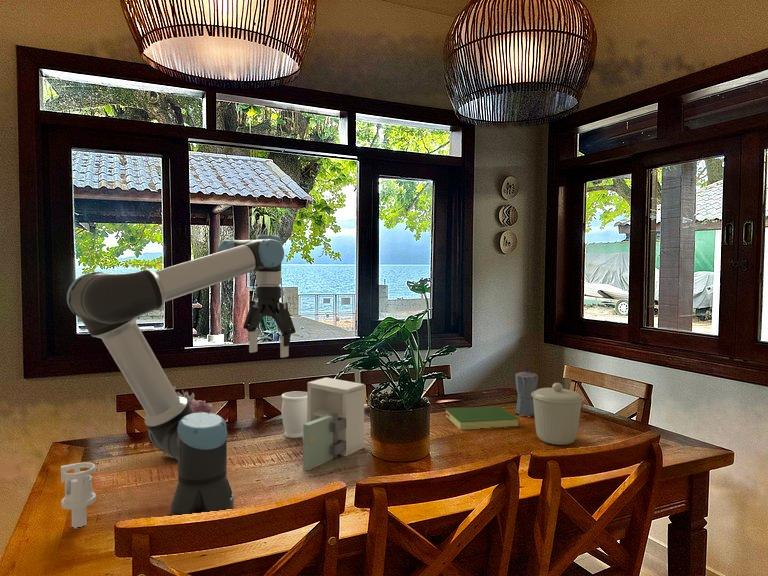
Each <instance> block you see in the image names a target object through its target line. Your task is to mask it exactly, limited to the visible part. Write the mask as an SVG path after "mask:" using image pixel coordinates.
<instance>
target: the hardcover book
mask: <svg viewBox="0 0 768 576" xmlns="http://www.w3.org/2000/svg"><path fill="white" fill-rule="evenodd" d="M444 416H445V417H446V419H448V420H449V421H450V422H452V424H454V425H455V426H456V427H457V429H459V430H460V431H461V430H462V431H463V430H465V431H466V430H480V428H485V429H492V428H491V427H503V426H504V428H506V427H505V426H518V427H519V417H517V416H515V415H514V414H512V413H511V412H509V411H508V410H506V409H504V408H503V407H502V406H500V405H486V406H485V405H484V406H465V407H464V406H463V407H446V408H444Z"/></svg>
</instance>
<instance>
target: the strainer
mask: <svg viewBox="0 0 768 576" xmlns="http://www.w3.org/2000/svg"><path fill="white" fill-rule="evenodd" d="M83 468H87V470H82V471H81V469H83ZM88 468H89V469H88ZM70 470H74V472H71V473H70V472H69V471H70ZM95 472H96V464H95V463H94V462H87V461H86V462H78V463H70V464H64V465H61V466H60V482H61V483H64V497H62V499H61V501H60V502H61V508H62V509H64V510H71V528H72V527H74V528H73V529H78V528H77V527H81V528H83V527H82V526H84V525H85V526H87V521H88V520H87V507H88V506H91V505H92V504H94V503H95V502H96V501H97V493H95V492H93V476H92V474H94V473H95ZM85 526H84V527H85Z"/></svg>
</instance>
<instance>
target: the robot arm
mask: <svg viewBox="0 0 768 576" xmlns="http://www.w3.org/2000/svg"><path fill="white" fill-rule="evenodd" d="M284 258H285V250H284V247H283V244H282V238H281V237H280V236H279V235H275V234H257V235H256V239H244V240H243V239H241V240H240V239H223V240H221V241H220V242H219V244H218V248H217V252H215V253H212V254H208V255H205V256H202V257H198V258H195V259H191V260H188V261H184V262H181V263H178V264H175V265H171V266H168V267H166V268H162V269H158V270H155V271H152V270H150V269H148V268H147V269H142V270H140V271H135V272H129V273H105V272H101V271H94V272H90V273H86V274H83V275H80V276H78V277H77V278H76V279H75V280H74V281H73V282H71V284H70V286H69V288H68V289H67V292H66V303H67V306H68V308H69V310H70V311H71V312H72V314H74V316H75V317H78V318H80V319H81V321H82V323H83V325H84V327H85V328H86V329H87V331H88V332H89V334H90V336H91V337H92V338H98V339H101V340H102V343H103V344H104V346H105V347H106V349H107V350H108V352H109V354H110V355H111V357H112V359H113V360H114V362H115V364H116V365H117V367H118V368H119V370H120V372H121V373H122V375H123V377H124V378H125V380H126V382H127V383H128V385H129V387H130V389H131V390H132V392H133V393H134V395H135V396H136V398H137V400H138V401H139V404H141V406H142V408H143V410H144V412H145V413H146V415H145V418H144V424H145V426H146V427H147V429H148V436H149V439H150V441H151V442H152V444H153V446H155V447H156V449H158V450H159V451H161V452H163V453H164V452H166V453H167V454H166V455H168V454H169V455H170V456H172V457H173V458H172V457H171V458H172V459H174V460H177V463H178V464H177V470H178V471H177V477H178V478H177V480H178V482H177V485H176V488H175V492H174V494H173V498H172V501H171V504H170V515H182V514H192V513H201V512H210V511H219V510H226V509H232V510H233V509H234V506H235V505H234V504H235V502H234V501H235V500H234V499H235V498H234V493H233V490H232V488H231V485H230V482H229V480H228V476H227V473H228V470H227V464H228V463H227V462H228V461H227V460H228V459H227V458H228V457H227V456H228V448H227V446H228V442H227V441H228V430H227V423H226V420H225V419H224V418H223V417H222V416H220V415H218V414H216V413H214V412H213V413H212V412H211V413H210V414H208V413H202V412H201V413H194V411H193V409H192V408H191V406H192V405H191V406H190V404H189V403H188V401H187V399H186V398H184V397H179V396H178V395H177V394H176V393H177V392H176V389H175V390H174V388H173V387H174V386H173V385H172V383H171V381H170V380H169V378H168V376H167V375H166V373H165V371H164V369H163V368H162V366H161V364H160V362H159V360H158V359H157V357H156V355H155V353H154V351H153V349H152V348H151V346H150V344H149V343H148V341H147V339H146V337H145V336H144V334H143V332H142V330H141V329H140V327H139V325H138V323H137V319H138V317H141V316H143V315H146V314H148V313H151V312H153V311H156V310H159V309H162V308H163V306H164V304H165V302H169V301H171V300H174V299H177V298H180V297H182V296H186V295H188V294H191V293H195V292H197V291H200V290H202V289H207V288H208V287H211V286H214V285H217V284H219V283H223V282H225V281H229V280H231V279H234V278H237V277H239V276H243V275H246V274H248V273H251V272H256V273H255V274H256V275H255V276H256V277H255V284H256V285H257V286H256V287H255V289H256V290H255V292H256V293H255V297H256V299H254V300H250V302H249V303H250V305H249V310H248V312H247V315H246V317H245V320H244V323H243V326H242V328H243V329H244V330H247V331H246V332H248V335H247V337H248V338H247V339H248V345H249V346H248V352H249V353H251V354H252V353H256V352H258V330H257V328H258V326H259V325H260V323H261V322H262V321H263V319H264V317H266V316H267V317H271V319H273V320H274V322H275V324H276V326H277V327H278V329H279V331H280V333H281V335H280V343H279V344H280V346H279V347H280V348H279V349H280V350H279V351H280V352H279V353H280V354H279V355H280V358H287V357H289V353H290V352H289V351H290V349H289V347H290V345H291V335H293V334H295V333H296V328H295V324H294V323H293V320H292V316H291V314H290V311H289V303H288V302H287V301H284V302H283V301H282V302H280V299H281V298H282V287H281V286H280V285H281V284H282V262H283V260H284ZM169 455H168V456H169ZM170 456H169V457H170ZM233 505H234V506H233Z"/></svg>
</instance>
